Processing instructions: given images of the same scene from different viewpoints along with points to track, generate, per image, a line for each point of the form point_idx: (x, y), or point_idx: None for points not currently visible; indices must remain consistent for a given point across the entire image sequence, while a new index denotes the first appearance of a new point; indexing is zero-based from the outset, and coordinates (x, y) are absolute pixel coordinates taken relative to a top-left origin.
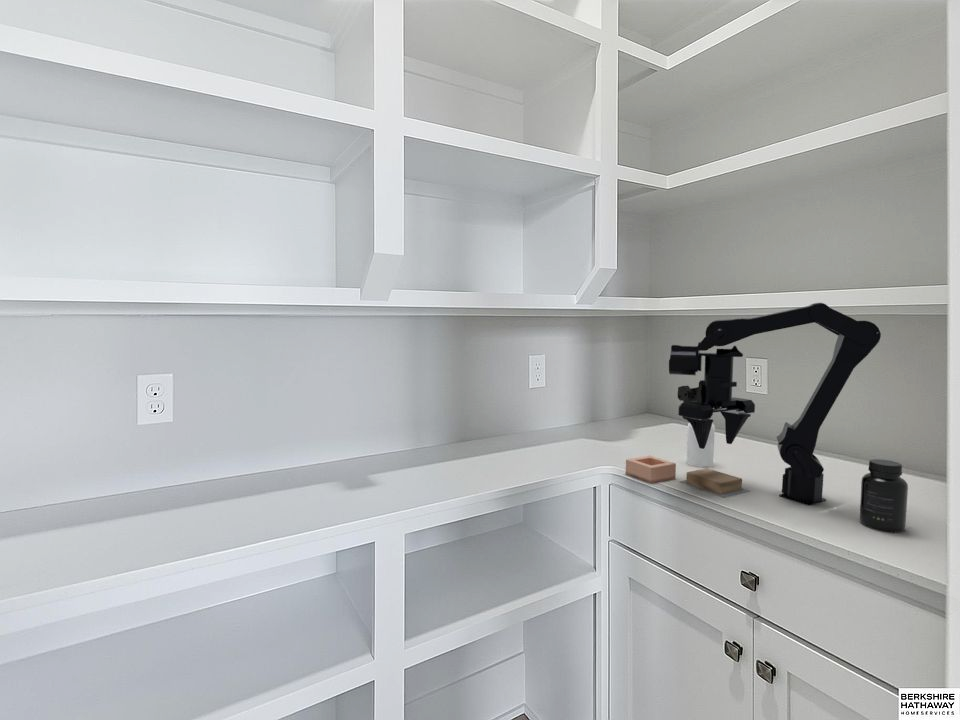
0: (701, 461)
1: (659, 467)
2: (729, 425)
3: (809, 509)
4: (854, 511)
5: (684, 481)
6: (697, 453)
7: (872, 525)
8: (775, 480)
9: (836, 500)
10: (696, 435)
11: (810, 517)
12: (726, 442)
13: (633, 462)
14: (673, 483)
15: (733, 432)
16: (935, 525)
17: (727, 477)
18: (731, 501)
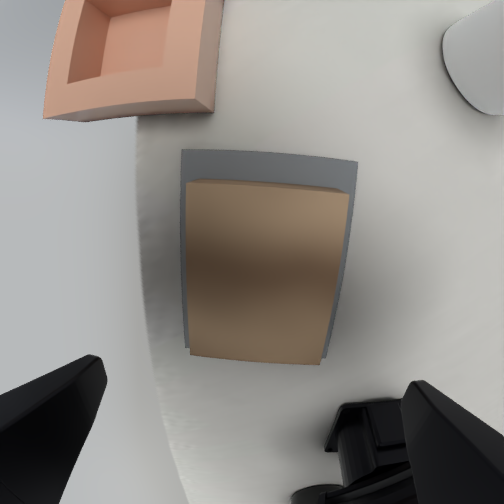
0: (469, 84)
1: (83, 111)
2: (467, 497)
3: (310, 450)
4: None
5: (211, 160)
6: (481, 61)
7: (291, 499)
8: (491, 315)
9: None
10: (15, 400)
11: (261, 462)
12: (412, 383)
13: (60, 22)
14: (170, 139)
15: (424, 481)
16: None
17: (285, 331)
18: (194, 361)
